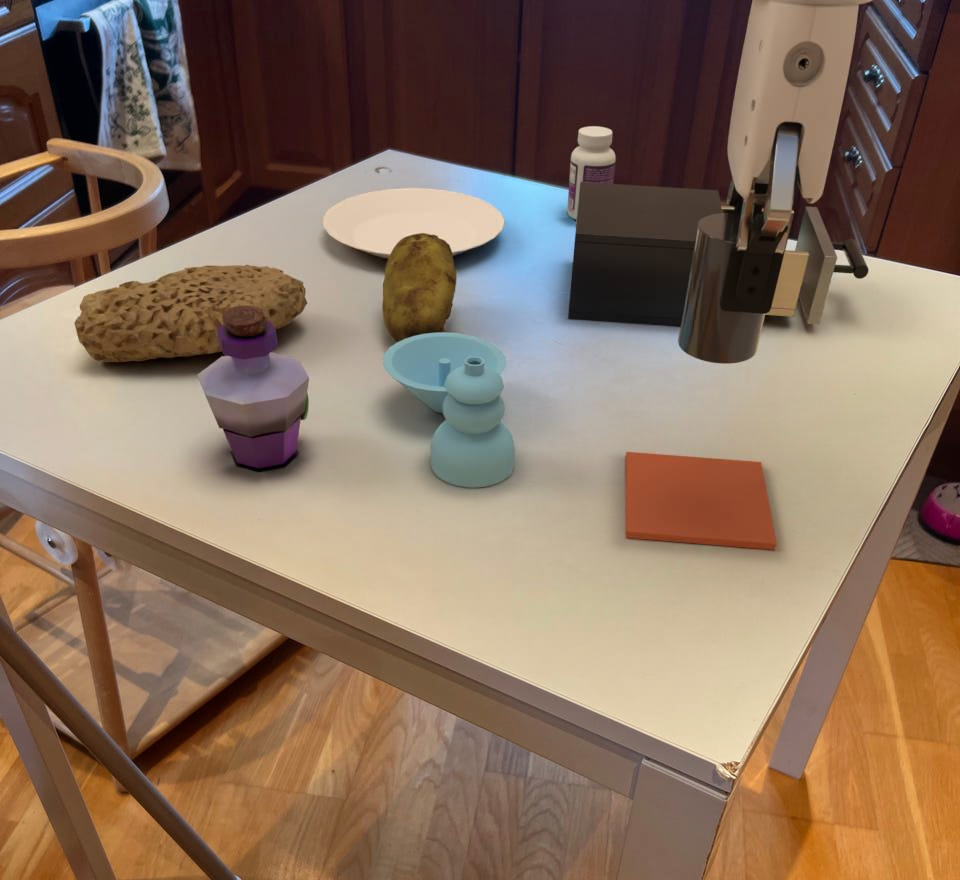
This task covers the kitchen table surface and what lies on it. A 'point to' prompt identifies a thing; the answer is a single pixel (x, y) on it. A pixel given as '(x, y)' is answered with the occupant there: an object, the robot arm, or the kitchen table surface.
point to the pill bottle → (590, 163)
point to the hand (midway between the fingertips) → (740, 287)
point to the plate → (412, 219)
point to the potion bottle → (256, 391)
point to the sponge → (181, 311)
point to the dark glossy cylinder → (715, 299)
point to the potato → (418, 286)
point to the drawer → (812, 268)
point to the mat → (697, 501)
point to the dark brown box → (635, 251)
